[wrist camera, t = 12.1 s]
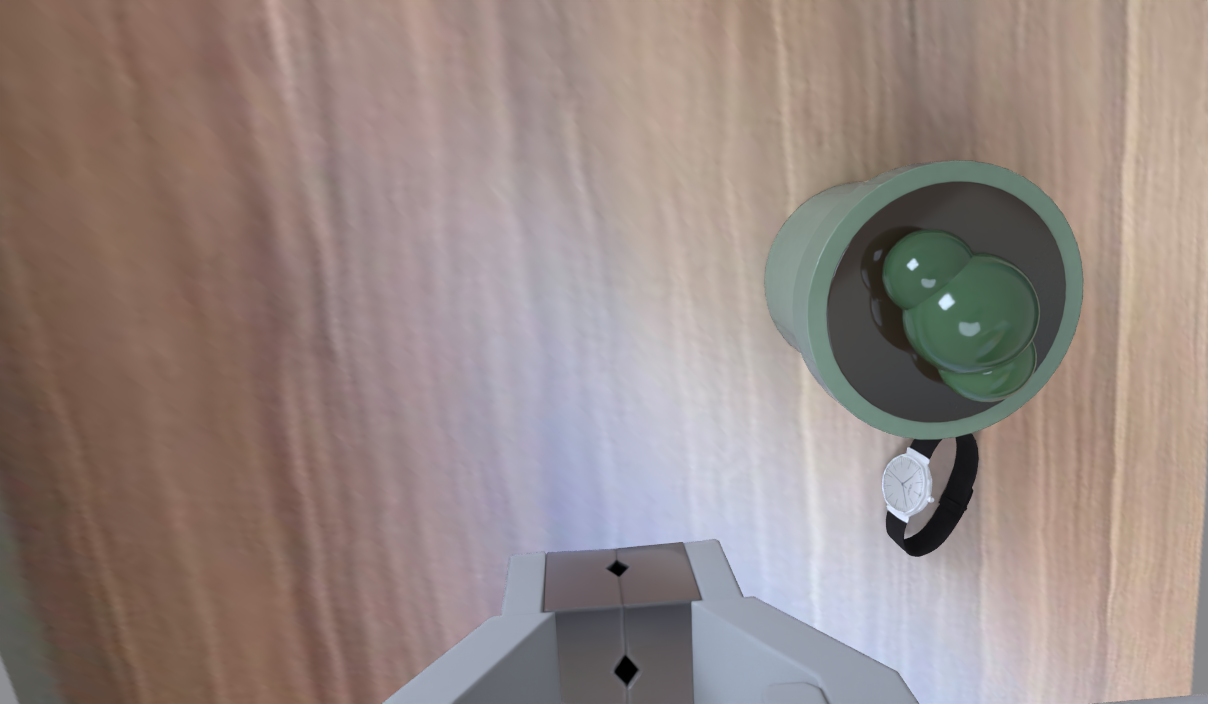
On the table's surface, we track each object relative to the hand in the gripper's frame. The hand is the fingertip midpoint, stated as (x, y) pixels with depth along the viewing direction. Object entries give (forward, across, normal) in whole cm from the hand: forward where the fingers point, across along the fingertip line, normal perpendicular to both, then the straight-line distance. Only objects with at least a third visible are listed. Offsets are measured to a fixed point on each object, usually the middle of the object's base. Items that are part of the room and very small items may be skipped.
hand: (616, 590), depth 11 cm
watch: (+29, -19, +12) cm, 37 cm away
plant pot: (+29, -15, 0) cm, 33 cm away
